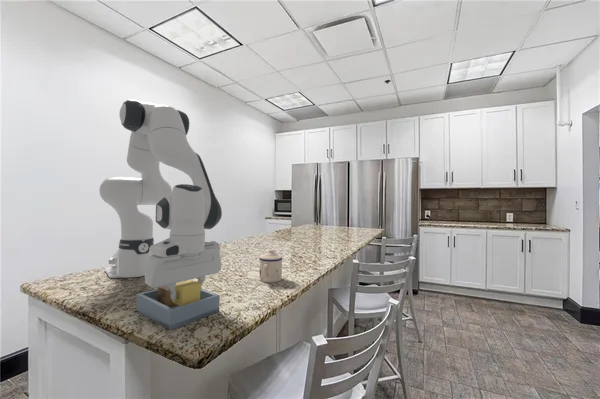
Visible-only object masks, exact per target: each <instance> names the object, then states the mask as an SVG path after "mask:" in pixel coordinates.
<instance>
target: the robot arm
mask: <svg viewBox="0 0 600 399" xmlns="http://www.w3.org/2000/svg"><path fill="white" fill-rule="evenodd" d="M119 119H120V123H121V125H122V126H123V128H124V129H126V130H128V131H131V133H130V136H129V137H130V138H129V142H128V148H127V156H126V163H127V164H128V167H130V168H131V169H132V170H134V171H136V173H140V174H141V176H140V177H124V176H116V177H115V176H114V177H109V178H106V179H104V180H103V181H102V183H101V184H100V186H99V190H98V192H99V196H100V198H101V199H102V200H103V201H104V202H105V203H107V204H108V205H109V206H110V207H112V208H113V209H114V210H115V211H116V213H117V215H118V217H119V221H120V229H121V230H120V232H121V234H120V235H121V236H120V237H121V238H120V239H119V242H118V250H117V251H116V252H115V253H114V254H113V255H112V257H111V258H108V265H110V266H108V267H105V269H104V272H105V273H106V274H107V276H108V278H109V279H116V278H117V279H118V278H125V279H126V278H138V277H144V283H145V284H146V285H147V286H148V287H149V288H152V289H158V287H161V286H165V285H166V287H167V288H168V290H169V291H170V292H171V300H176V299H179V292H177V291H175V289H174V287H176V283H178V282H182V281H186V280H193V279H196V280H197V281H196V282H199V283H200V292H201V289H202V286H203V284H204V283H205V281H206V276H210V275H213V274H214V275H215V274H219V273H220V271H221V270H222V259H221V253H220V252H221V247H220V246H221V245H220V244H219V243H218V242H217V241H215V240H214V241H212V240H211V241H206V230H212V229H213V228H214V227H215V226H217V225H218V224H219V222H220V221H221V219H222V214H223V212H222V207H221V204H220V202H219V201H218V198H217V196H216V195H215V193H214V190H213V189H214V188H213V187H212V183H211V181H210V179H209V176H208V173H207V170H206V168H205V165H204V162H203V160H202V158H201V156H200V155H199V154H198V153H197V152H196V151H195V150H194V149H193V147H191V145H190V144H189V141H188V138H187V135H188V133H189V130H190V118H189V116H188V115H187V113H186V112H183V111H181V110H179V109H176V108H175V107H172V106H170V105H166V104H156V103H152V102H145V101H139V100H138V99H127V100H125V101H123V103H122V105H121V107H120V109H119ZM160 163H162V164H164V165H166V166H169V167H172V168H174V169H177V170H178V171H181V172H183V173H184V174H186V175H187V176H188V177H189V178H190V179H191V181H192V184H184V183H181V184H177V185H176V184H175V185H174V186H173V188H172V187H171V186H172V185H170V183H169V182H168V181H166V180H165V179H164V177H163V176H162V174H161V171H160ZM141 205H142V206H147V205H148V206H155V222H156V224H158V226H160V227H161V228H162V229H166V230H170V231H169V237H168V238H166V239H164V240H162V241H159V242H156V243H155V240H154V237H153V235H154V234H153V232H154V231H153V230H154V227H153V226H154V221H153V219H152V218H151V216H149V215H147V214H145V213H143V212H141V211H139V209H138V206H141Z"/></svg>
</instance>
